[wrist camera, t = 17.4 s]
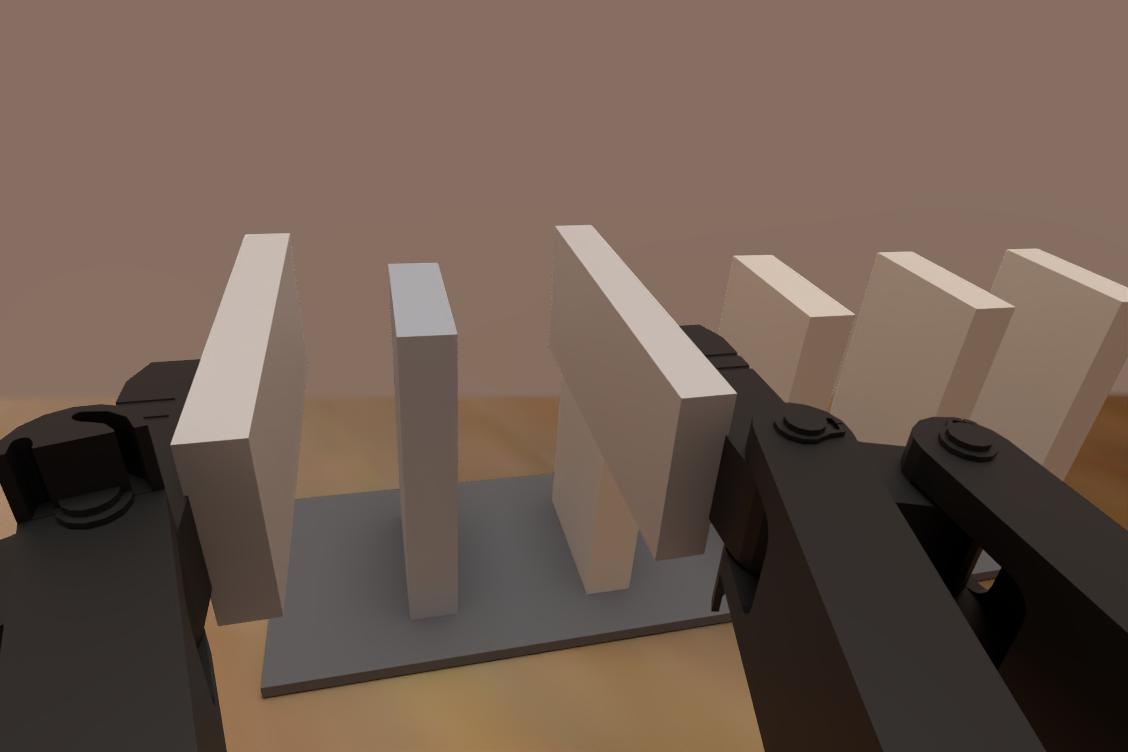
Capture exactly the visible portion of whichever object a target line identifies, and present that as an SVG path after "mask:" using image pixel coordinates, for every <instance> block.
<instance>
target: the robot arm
mask: <svg viewBox="0 0 1128 752" xmlns="http://www.w3.org/2000/svg"><path fill="white" fill-rule="evenodd" d="M553 256H554V257H553V275H552V293H551V313H550V331H549V349H550V351H551V353H552V355H553V357H554V359H555V361H556V363H557V365H558V367H559V369H560V371H561V373H562V375H563V377H564V379H565V381H566V383H567V385H568V387H569V389H570V391H571V393H572V395H573V397H574V399H575V401H576V403H577V405H578V407H579V409H580V411H581V413H582V415H583V417H584V419H585V421H586V423H587V425H588V427H589V429H590V431H591V433H592V436H593V438H594V440H595V442H596V444H597V446H598V448H599V450H600V452H601V454H602V456H603V458H604V460H605V462H606V464H607V466H608V468H609V470H610V472H611V474H612V476H613V478H614V480H615V482H616V484H617V486H618V488H619V490H620V492H621V494H622V496H623V498H624V500H625V502H626V504H627V506H628V508H629V510H630V512H631V514H632V516H633V518H634V520H635V522H636V524H637V526H638V528H639V530H640V532H641V534H642V536H643V538H644V540H645V542H646V544H647V546H648V548H649V550H650V552H651V554H652V556H653V558H654V560H655V561H661V560H668V559H674V558H681V557H688V556H694V555H701V554H704V552H705V547H706V542H707V537H708V533H709V528H710V523H712V525H713V526H714V528H715V530H716V531H717V533H718V534H719V536H720V538H721V539H722V541H723V542H724V546H723V550H722V555H721V559H720V564H719V568H718V573H717V577H716V582H715V586H714V590H713V595H712V601H711V612H719V609H720V605H721V601H722V597H723V596H724V595H726V599H727V603H728V607H729V611H730V615H731V619H732V623H733V627H734V631H735V635H736V639H737V643H738V647H739V651H740V655H741V659H742V663H743V667H744V671H745V675H746V679H747V683H748V686H749V690H750V694H751V698H752V702H753V706H754V710H755V714H756V718H757V722H758V726H759V730H760V734H761V738H762V742H763V746H764V750H765V752H1128V531H1127V530H1126V529H1124V528H1123V527H1122V526H1120V525H1119V524H1118V523H1117V522H1115V521H1114V520H1113V519H1111V518H1110V517H1109V516H1107V515H1106V514H1105V513H1103V512H1102V511H1101V510H1099V509H1098V508H1097V507H1096V506H1094V505H1093V504H1092V503H1090V502H1089V501H1088V500H1086V499H1085V498H1084V497H1082V496H1081V495H1080V494H1079V493H1077V492H1076V491H1075V490H1073V489H1072V488H1071V487H1069V486H1068V485H1067V484H1065V483H1064V482H1063V481H1061V480H1060V479H1059V478H1058V477H1056V476H1055V475H1054V474H1052V473H1051V472H1050V471H1048V470H1047V469H1046V468H1044V467H1043V466H1042V465H1040V464H1039V463H1038V462H1037V461H1035V460H1034V459H1033V458H1031V457H1030V456H1029V455H1027V454H1026V453H1025V452H1023V451H1022V450H1021V449H1020V448H1018V447H1017V446H1016V445H1014V444H1013V443H1012V442H1010V441H1009V440H1008V439H1006V438H1004V437H1003V436H1001V435H999V434H998V433H996V432H994V431H993V430H991V429H989V428H986V427H983V426H981V425H978V424H977V423H976V422H974V421H970V420H967V419H963V420H961V418H956V417H930V418H926V419H922V420H919V421H918V422H917V423H916V424H915V425H914V426H913V427H912V430H911V433H910V436H909V438H908V441H907V444H906V446H897V445H887V444H877V443H867V442H859V441H858V440H857V439H856V437H855V435H854V434H853V432H852V431H851V430H850V429H849V428H848V427H847V425H846V424H845V423H844V422H843V421H842V420H840V419H838V418H837V417H835V416H833V415H832V414H830V413H828V412H826V411H823V410H821V409H818V408H815V407H812V406H809V405H803V404H796V403H790V402H788V403H785V402H784V401H783V400H782V399H781V398H780V397H779V396H778V395H777V394H776V393H775V391H774V390H773V389H772V388H771V387H770V386H769V385H768V384H767V383H766V382H765V381H764V380H763V379H762V378H761V377H760V376H759V375H758V374H757V373H756V372H755V371H754V369H753V368H751V369H750V368H749V364H748V363H747V362H746V361H745V360H744V359H743V358H742V357H741V356H738V355H737V352H736V351H735V350H734V348H733V347H732V346H731V345H730V344H729V343H728V342H727V341H726V340H725V339H724V338H723V337H721V336H719V335H718V334H716V333H714V332H712V331H710V330H708V329H706V328H705V327H703V326H701V325H686V326H678V324H677V323H676V322H675V321H674V320H673V319H672V318H671V317H670V315H669V314H668V313H667V312H666V311H665V310H664V308H663V307H662V306H661V305H660V304H659V302H658V301H657V300H656V299H655V298H654V297H653V296H652V294H651V293H650V292H649V291H648V290H647V289H646V288H645V286H644V285H643V284H642V283H641V282H640V281H639V279H638V278H637V277H636V276H635V275H634V274H633V273H632V271H631V270H630V269H629V268H628V267H627V266H626V265H625V263H624V262H623V261H622V260H621V259H620V257H619V256H618V255H617V254H616V253H615V252H614V251H613V249H612V248H611V247H610V246H609V245H608V244H607V243H606V242H605V240H604V239H603V238H602V237H601V236H600V235H599V233H598V232H597V231H596V230H595V229H594V228H593V226H592V225H578V226H577V225H576V226H555V235H554V255H553ZM307 369H308V361H307V353H306V346H305V339H304V332H303V324H302V317H301V310H300V302H299V295H298V288H297V281H296V274H295V267H294V259H293V252H292V244H291V238H290V233H284V234H283V233H282V234H248V235H247V234H246V235H245V237H244V240H243V242H242V245H241V248H240V251H239V254H238V256H237V259H236V262H235V265H234V268H233V271H232V273H231V276H230V279H229V282H228V285H227V287H226V290H225V293H224V296H223V298H222V301H221V304H220V307H219V310H218V312H217V315H216V318H215V321H214V324H213V326H212V329H211V332H210V335H209V338H208V340H207V343H206V346H205V349H204V352H203V355H202V357H201V359H199V360H184V361H168V362H153V363H150V364H149V365H148V366H146V367H145V368H144V369H142V370H141V371H140V372H138V373H137V374H136V375H134V376H133V377H132V378H130V379H129V380H128V381H127V382H126V383H125V385H124V387H123V389H122V391H121V393H120V395H119V397H118V399H117V401H116V406H113V405H103V404H100V405H90V406H80V407H72V408H68V409H65V410H61V411H57V412H53V413H50V414H46V415H43V416H41V417H39V418H37V419H34V420H32V421H30V422H28V423H26V424H23V425H21V426H19V427H17V428H16V429H15V430H13V431H12V432H11V433H9V434H8V435H7V436H5V437H4V438H3V439H1V440H0V484H1V486H2V489H3V491H4V493H5V496H6V498H7V500H8V503H9V505H10V508H11V510H12V512H13V515H14V517H15V519H16V522H17V531H16V534H14V535H12V536H10V537H7V538H4V539H1V540H0V752H227V750H226V744H225V737H224V731H223V725H222V718H221V712H220V706H219V700H218V693H217V687H216V681H215V674H214V668H213V662H212V655H211V651H210V647H209V643H208V640H207V636H206V633H205V629H204V625H205V620H206V616H207V611H208V606H209V602H210V598H211V601H212V605H213V609H214V613H215V617H216V620H217V624H218V626H223V625H230V624H237V623H243V622H250V621H257V620H263V619H270V618H277V617H283V616H284V606H285V596H286V585H287V575H288V565H289V554H290V544H291V534H292V524H293V513H294V503H295V493H296V482H297V472H298V462H299V451H300V441H301V431H302V421H303V410H304V400H305V389H306V379H307ZM982 550H984V551H985V552H986V553H987V554H988V555H989V556H990V557H991V558H992V559H993V560H994V561H995V562H996V563H997V564H998V565H999V566H1001V569H1000V571H999V573H998V575H997V577H996V579H995V581H994V583H993V585H992V587H991V588H990V589H989V590H987V589H985V588H984V587H982V586H981V585H980V584H978V583H977V582H976V581H975V580H974V579H973V578H972V577H971V574H972V572H973V570H974V568H975V565H976V563H977V561H978V559H979V557H980V555H981V553H982Z"/></svg>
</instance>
